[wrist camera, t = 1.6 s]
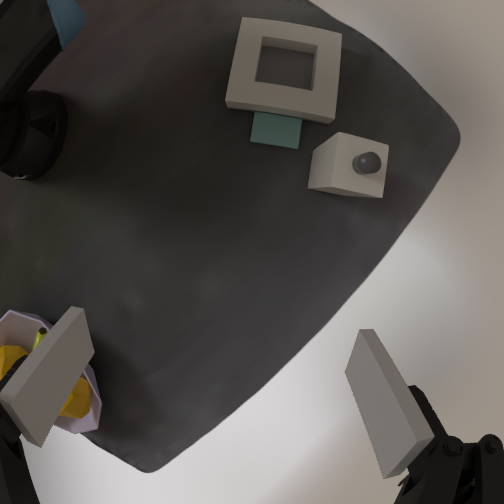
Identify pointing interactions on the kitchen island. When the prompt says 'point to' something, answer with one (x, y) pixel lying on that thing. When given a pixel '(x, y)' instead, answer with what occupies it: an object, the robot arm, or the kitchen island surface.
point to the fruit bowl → (23, 342)
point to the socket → (284, 78)
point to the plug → (349, 166)
